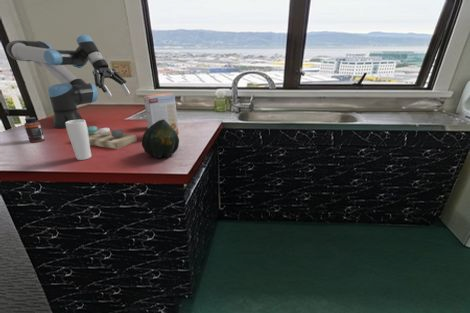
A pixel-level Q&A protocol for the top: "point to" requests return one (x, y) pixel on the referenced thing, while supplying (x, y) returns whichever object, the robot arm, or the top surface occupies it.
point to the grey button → (117, 133)
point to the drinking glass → (79, 138)
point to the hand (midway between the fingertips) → (119, 95)
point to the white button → (104, 131)
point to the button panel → (111, 140)
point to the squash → (160, 139)
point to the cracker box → (161, 109)
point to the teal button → (92, 129)
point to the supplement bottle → (33, 130)
